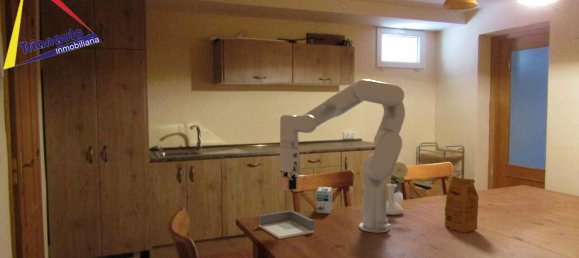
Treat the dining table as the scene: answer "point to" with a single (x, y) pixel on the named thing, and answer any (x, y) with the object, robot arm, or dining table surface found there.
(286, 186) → the cube
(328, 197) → the light bulb box
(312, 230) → the tray
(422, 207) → the dining table surface
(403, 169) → the flower in vase
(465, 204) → the coffee package
